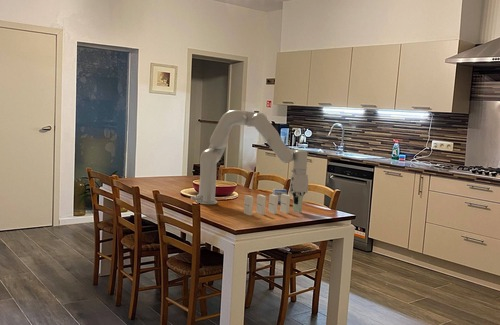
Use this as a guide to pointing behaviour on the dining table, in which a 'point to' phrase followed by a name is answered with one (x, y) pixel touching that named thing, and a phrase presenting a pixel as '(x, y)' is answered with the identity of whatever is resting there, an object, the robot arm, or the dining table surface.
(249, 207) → the domino
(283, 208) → the domino
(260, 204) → the domino
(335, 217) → the dining table surface
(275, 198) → the domino
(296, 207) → the domino
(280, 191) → the medicine box
